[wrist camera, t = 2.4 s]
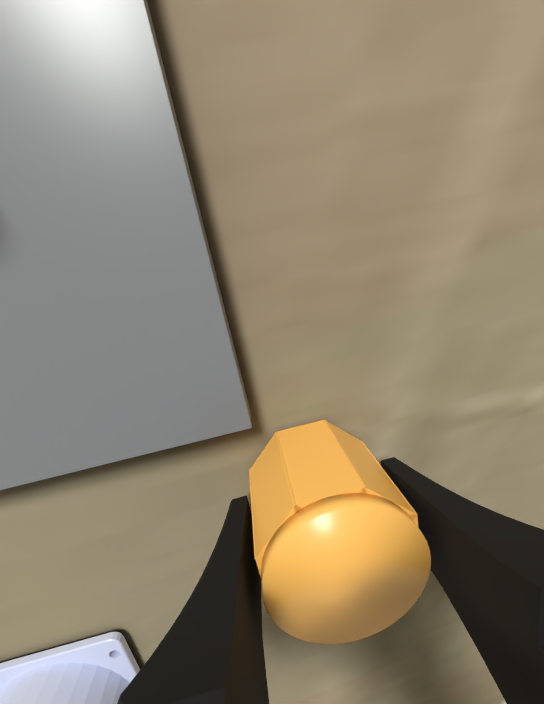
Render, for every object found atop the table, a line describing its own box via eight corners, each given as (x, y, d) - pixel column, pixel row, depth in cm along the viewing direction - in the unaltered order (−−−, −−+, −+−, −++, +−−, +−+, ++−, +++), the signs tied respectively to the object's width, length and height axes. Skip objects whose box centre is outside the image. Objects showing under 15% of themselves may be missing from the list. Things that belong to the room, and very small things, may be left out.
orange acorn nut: (371, 506, 15) (435, 617, 10) (266, 535, 15) (281, 663, 10) (358, 410, 13) (426, 486, 9) (240, 440, 13) (243, 535, 8)
